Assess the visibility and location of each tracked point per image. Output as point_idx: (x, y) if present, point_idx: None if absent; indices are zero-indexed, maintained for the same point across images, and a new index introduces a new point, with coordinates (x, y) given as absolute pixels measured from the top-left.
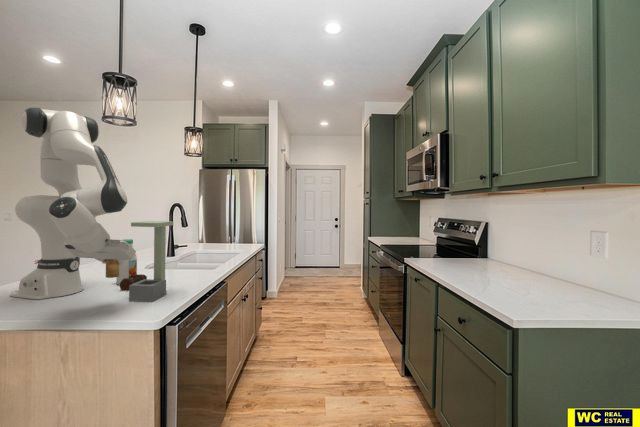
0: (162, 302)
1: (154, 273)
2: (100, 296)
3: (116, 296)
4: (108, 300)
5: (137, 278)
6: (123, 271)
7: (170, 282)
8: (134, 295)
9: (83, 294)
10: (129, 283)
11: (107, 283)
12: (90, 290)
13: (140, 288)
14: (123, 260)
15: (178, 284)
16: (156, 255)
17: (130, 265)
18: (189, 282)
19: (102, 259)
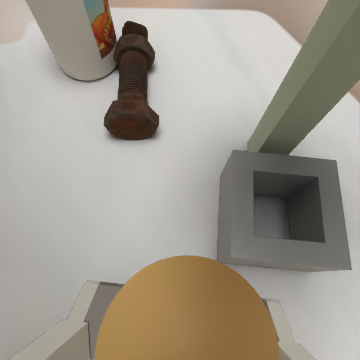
0: (349, 277)
1: (279, 125)
2: (78, 203)
3: (137, 204)
4: (134, 252)
5: (140, 68)
6: (74, 38)
7: (232, 54)
8: (244, 263)
9: (3, 180)
10: (143, 123)
11: (26, 61)
12: (6, 135)
13: (282, 263)
14: (279, 308)
15: (272, 75)
16: (347, 49)
17: (91, 6)
18: (295, 55)
19: (78, 357)
